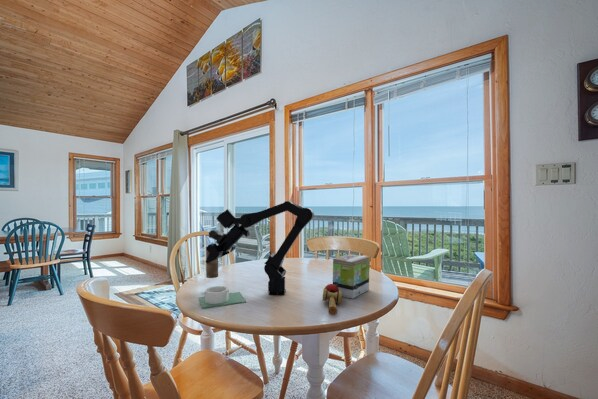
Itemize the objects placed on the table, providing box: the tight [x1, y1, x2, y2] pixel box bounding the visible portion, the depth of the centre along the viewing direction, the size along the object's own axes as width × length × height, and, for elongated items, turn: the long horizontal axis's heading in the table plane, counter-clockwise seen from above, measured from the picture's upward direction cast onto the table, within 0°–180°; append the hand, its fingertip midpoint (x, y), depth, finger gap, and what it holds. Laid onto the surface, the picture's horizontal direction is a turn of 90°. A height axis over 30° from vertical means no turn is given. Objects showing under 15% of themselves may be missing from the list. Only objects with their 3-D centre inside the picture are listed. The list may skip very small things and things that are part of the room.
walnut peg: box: [205, 248, 219, 279], centre depth 123 cm, size 5×5×13 cm
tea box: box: [332, 253, 370, 300], centre depth 119 cm, size 15×10×15 cm, turn 143°
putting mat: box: [198, 285, 247, 309], centre depth 109 cm, size 16×12×4 cm
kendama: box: [321, 283, 343, 315], centre depth 104 cm, size 8×6×18 cm
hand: (209, 261), depth 123 cm, fingers closed on walnut peg, 5 cm apart
